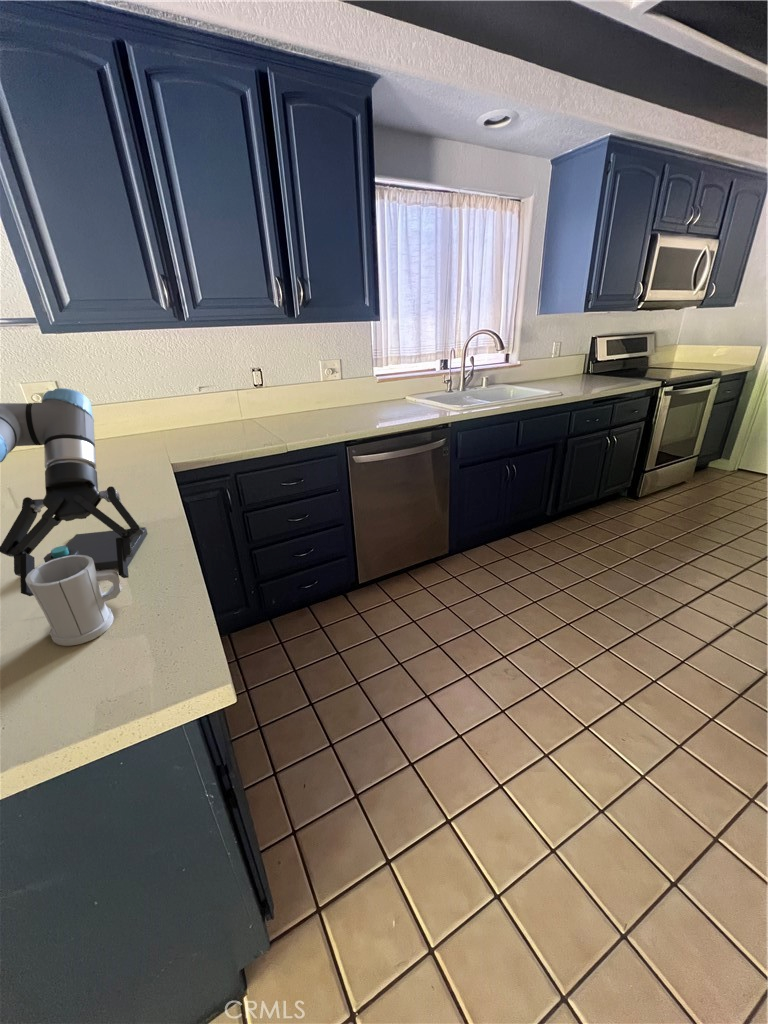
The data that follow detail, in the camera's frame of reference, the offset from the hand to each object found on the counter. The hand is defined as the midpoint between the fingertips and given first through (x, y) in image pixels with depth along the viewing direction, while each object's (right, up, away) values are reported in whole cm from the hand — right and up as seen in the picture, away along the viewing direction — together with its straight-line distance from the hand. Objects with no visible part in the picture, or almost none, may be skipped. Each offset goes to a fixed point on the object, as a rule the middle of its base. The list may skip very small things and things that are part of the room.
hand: (77, 585), depth 70 cm
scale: (-12, +3, +24) cm, 27 cm away
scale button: (-16, +3, +17) cm, 24 cm away
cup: (0, -8, +3) cm, 8 cm away
